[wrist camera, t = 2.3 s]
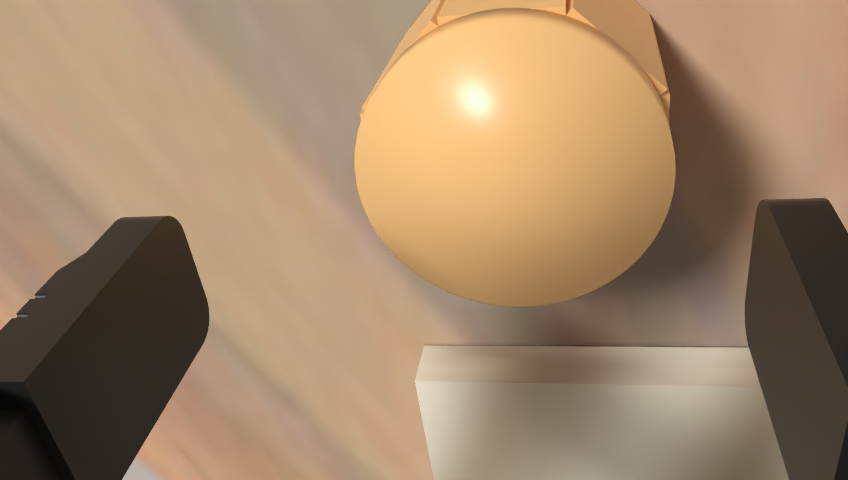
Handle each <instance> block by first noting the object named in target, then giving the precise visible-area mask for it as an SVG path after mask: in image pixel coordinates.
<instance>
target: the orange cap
mask: <svg viewBox="0 0 848 480" xmlns="http://www.w3.org/2000/svg"><path fill="white" fill-rule="evenodd" d="M361 109H363V110H362V112H361V114H360V118H361V123H360V127H359V130H358V133H357V140H356V146H355V175H356V182H357V188H358V192H359V195H360V199H361V202H362V205H363V207H364V210H365V212H366V214H367V217H368V219H369V221H370V223H371V224H372V226H373V228H374V229H375V231H376V233H377V235H378V236H379V237H380V239H381V240H382V241H383V243H384V244H385V245H386V246H387V248H388V249H389V250H390V251H391V252H392V253H393V254H394V255H395V256H396V257H397V258H398V259H399V260H400V261H401V262H402V263H403V264H404V265H405V266H407V267H408V268H409V269H410V270H412V271H413V272H414V273H415V274H417V275H418V276H420V277H421V278H423V279H424V280H426V281H428V282H429V283H431V284H433V285H435V286H437V287H439V288H441V289H443V290H445V291H447V292H449V293H452V294H454V295H457V296H460V297H462V298H465V299H469V300H473V301H477V302H480V303H485V304H492V305H498V306H512V307H528V306H542V305H548V304H554V303H559V302H563V301H566V300H570V299H574V298H577V297H579V296H582V295H584V294H587V293H589V292H592V291H594V290H596V289H598V288H600V287H602V286H603V285H605V284H607V283H609V282H611V281H612V280H613V279H615V278H616V277H618V276H619V275H620V274H622V273H623V272H625V271H626V270H627V269H628V268H629V267H630V266H631V265H632V264H634V263H635V262H636V261H637V260H638V259H639V258H640V257H641V256H642V254H643V253H644V252H645V251H646V250H647V248H648V247H649V246H650V245H651V243H652V242H653V240H654V239H655V237H656V235H657V234H658V232H659V231H660V229H661V227H662V225H663V223H664V220H665V218H666V216H667V214H668V211H669V208H670V204H671V200H672V197H673V193H674V185H675V176H676V166H675V152H674V147H673V141H672V136H671V132H670V127H669V113H670V93H669V89H668V85H667V81H666V77H665V72H664V68H663V64H662V60H661V56H660V52H659V47H658V43H657V39H656V35H655V31H654V27H653V22H652V19H651V18H650V14H649V13H648V12H647V11H646V10H645V9H644V8H643V7H641V6H640V5H639V4H638V3H637V2H636V1H635V0H431V2H430V3H429V4H428V5H427V7H426V8H425V9H424V11H423V12H422V13H421V14H420V16H419V17H418V18H417V20H416V21H415V22H414V24H413V25H412V26H411V27H410V29H409V30H408V31H407V33H406V34H405V36H404V37H403V39H402V41H401V42H400V44H399V46H398V47H397V49H396V51H395V52H394V54H393V56H392V57H391V59H390V61H389V63H388V64H387V66H386V68H385V69H384V71H383V73H382V74H381V76H380V78H379V79H378V81H377V83H376V84H375V86H374V88H373V90H372V91H371V93H370V95H369V96H368V98H367V100H366V101H365V103H364V105H363V106H362V108H361Z"/></svg>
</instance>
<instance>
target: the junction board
mask: <svg viewBox="0 0 848 480" xmlns="http://www.w3.org/2000/svg"><path fill="white" fill-rule="evenodd" d="M415 384H416V389H417V394H418V400H419V405H420V410H421V415H422V420H423V426H424V431H425V436H426V441H427V446H428V452H429V457H430V462H431V467H432V472H433V478H434V480H789V478H788V474H787V471H786V468H785V465H784V461H783V458H782V455H781V451H780V448H779V445H778V442H777V438H776V435H775V432H774V428H773V425H772V422H771V419H770V415H769V412H768V409H767V405H766V402H765V399H764V396H763V392H762V389H761V386H760V382H759V379H758V376H757V373H756V369H755V366H754V363H753V359H752V356H751V353H750V349H749V348H730V347H581V346H432V345H424V348H423V352H422V356H421V360H420V364H419V368H418V371H417V375H416V379H415Z"/></svg>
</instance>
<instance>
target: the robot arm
mask: <svg viewBox="0 0 848 480" xmlns="http://www.w3.org/2000/svg"><path fill="white" fill-rule="evenodd" d="M208 326H209V307H208V302H207V298H206V295H205V292H204V290H203V287H202V284H201V281H200V278H199V275H198V272H197V269H196V266H195V263H194V260H193V257H192V254H191V251H190V248H189V245H188V242H187V239H186V236H185V233H184V231H183V228H182V226H181V224H180V223H179V222H178V220H176V219H175V218H174V217H172V216H151V217H123V218H120V219H118V220H117V221H116V222H114V223H113V225H112V226H111V227H110V228H109V229H108V230H107V231H106V232H105V233H104V234H103V235H102V236H101V237H100V238H99V240H98V241H97V242H96V243H95V244H94V245H93V246H92V247H91V248H90V249H89V250H88V251H87V252H86V253H85V254H83V255H82V256H80V257H78V258H77V259H75V260H74V261H72V262H71V263H69V264H68V265H66V266H64V267H63V268H61V269H60V270H58V271H57V272H56V273H55V274H54V275H53V276H52V277H51V278H50V279H49V280H48V281H47V282H46V283H45V284H44V285H43V286H42V287H41V289H40V290H39V291H38V292H37V293H36V294H35V299H30V300H29V301H28V302H27V303H26V304H25V305H24V306H23V307H22V308H21V309H20V311H19V312H18V313H17V318H12V319H11V320H10V321H9V322H8V323H7V324H6V325H5V326H4V327H3V328H2V329H1V330H0V480H122V478H123V477H124V475H125V473H126V472H127V470H128V468H129V466H130V465H131V463H132V462H133V460H134V458H135V457H136V455H137V453H138V452H139V450H140V448H141V447H142V445H143V443H144V442H145V440H146V438H147V437H148V435H149V433H150V432H151V430H152V428H153V427H154V425H155V423H156V422H157V420H158V418H159V417H160V415H161V413H162V412H163V410H164V408H165V406H166V405H167V403H168V401H169V400H170V398H171V396H172V395H173V393H174V391H175V390H176V388H177V386H178V385H179V383H180V381H181V380H182V378H183V376H184V375H185V373H186V371H187V370H188V368H189V366H190V365H191V363H192V361H193V360H194V358H195V356H196V355H197V353H198V351H199V350H200V348H201V346H202V345H203V343H204V341H205V338H206V336H207V332H208ZM745 327H746V335H747V341H748V346H749V349H750V353H751V356H752V359H753V363H754V366H755V369H756V373H757V376H758V379H759V382H760V386H761V389H762V392H763V396H764V399H765V402H766V405H767V409H768V412H769V415H770V419H771V422H772V425H773V428H774V432H775V435H776V438H777V442H778V445H779V448H780V451H781V455H782V458H783V461H784V465H785V468H786V471H787V474H788V478H789V480H848V233H847V231H846V229H845V227H844V226H843V224H842V222H841V220H840V219H839V217H838V215H837V213H836V212H835V210H834V208H833V206H832V205H831V203H830V202H829V200H827V199H825V198H811V199H777V200H762V201H761V202H760V203H759V205H758V208H757V212H756V217H755V225H754V233H753V241H752V249H751V257H750V265H749V274H748V282H747V290H746V299H745Z"/></svg>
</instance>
